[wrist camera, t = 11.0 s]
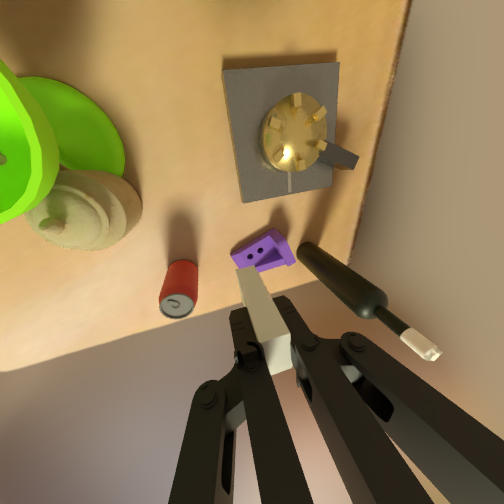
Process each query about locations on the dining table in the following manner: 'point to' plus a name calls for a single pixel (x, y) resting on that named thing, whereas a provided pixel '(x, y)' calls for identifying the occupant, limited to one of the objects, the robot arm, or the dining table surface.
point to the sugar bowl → (85, 210)
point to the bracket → (265, 252)
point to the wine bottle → (361, 296)
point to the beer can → (179, 290)
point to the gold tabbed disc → (300, 136)
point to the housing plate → (255, 109)
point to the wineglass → (48, 139)
